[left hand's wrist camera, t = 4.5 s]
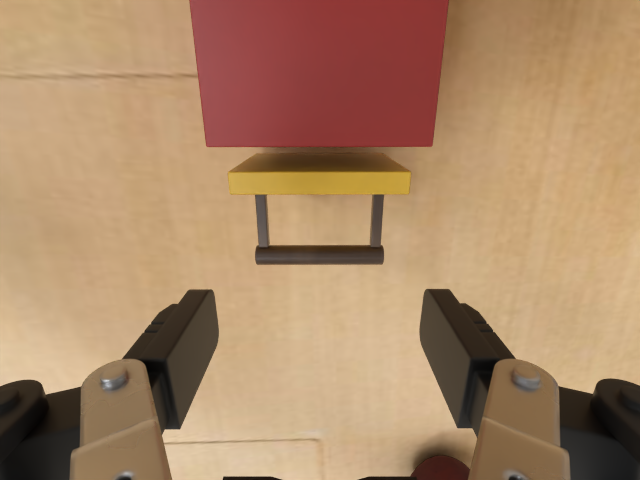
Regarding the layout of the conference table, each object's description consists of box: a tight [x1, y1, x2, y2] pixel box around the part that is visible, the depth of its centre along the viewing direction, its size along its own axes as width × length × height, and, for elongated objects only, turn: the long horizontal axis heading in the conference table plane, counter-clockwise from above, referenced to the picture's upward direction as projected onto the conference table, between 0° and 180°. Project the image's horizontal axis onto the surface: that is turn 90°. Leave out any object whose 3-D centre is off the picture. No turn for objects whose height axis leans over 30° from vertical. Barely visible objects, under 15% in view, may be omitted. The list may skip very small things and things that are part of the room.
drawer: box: [228, 153, 411, 265], centre depth 19 cm, size 22×9×8 cm, turn 0°
